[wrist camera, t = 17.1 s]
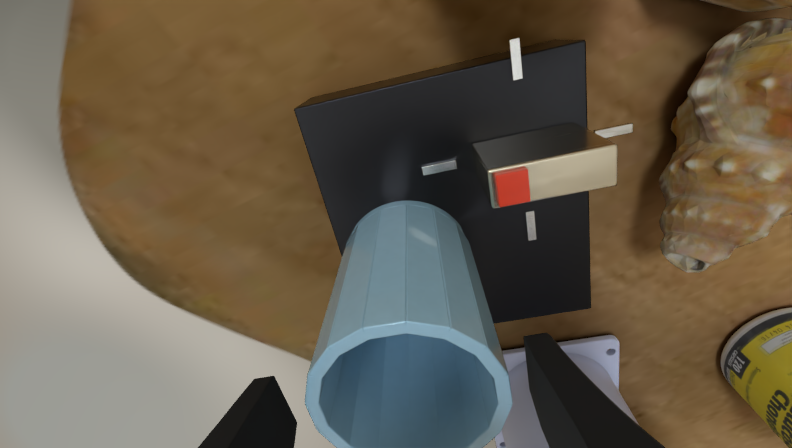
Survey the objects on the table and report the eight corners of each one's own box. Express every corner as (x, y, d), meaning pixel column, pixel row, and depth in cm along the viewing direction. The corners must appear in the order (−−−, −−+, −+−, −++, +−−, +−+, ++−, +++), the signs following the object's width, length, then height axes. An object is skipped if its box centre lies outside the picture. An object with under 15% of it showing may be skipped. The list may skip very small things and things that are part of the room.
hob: (598, 269, 21) (627, 305, 19) (374, 307, 23) (369, 345, 20) (596, 13, 16) (636, 9, 13) (306, 84, 18) (287, 93, 15)
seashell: (736, 172, 22) (783, 328, 16) (605, 110, 22) (602, 241, 16) (967, 10, 15) (1217, 180, 9) (772, -82, 15) (884, 21, 9)
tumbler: (477, 296, 19) (521, 457, 12) (363, 315, 19) (338, 479, 12) (459, 188, 17) (499, 306, 9) (331, 213, 17) (276, 342, 10)
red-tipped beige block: (574, 121, 15) (622, 145, 12) (575, 156, 16) (622, 188, 12) (471, 143, 16) (488, 172, 12) (475, 176, 16) (494, 212, 13)
